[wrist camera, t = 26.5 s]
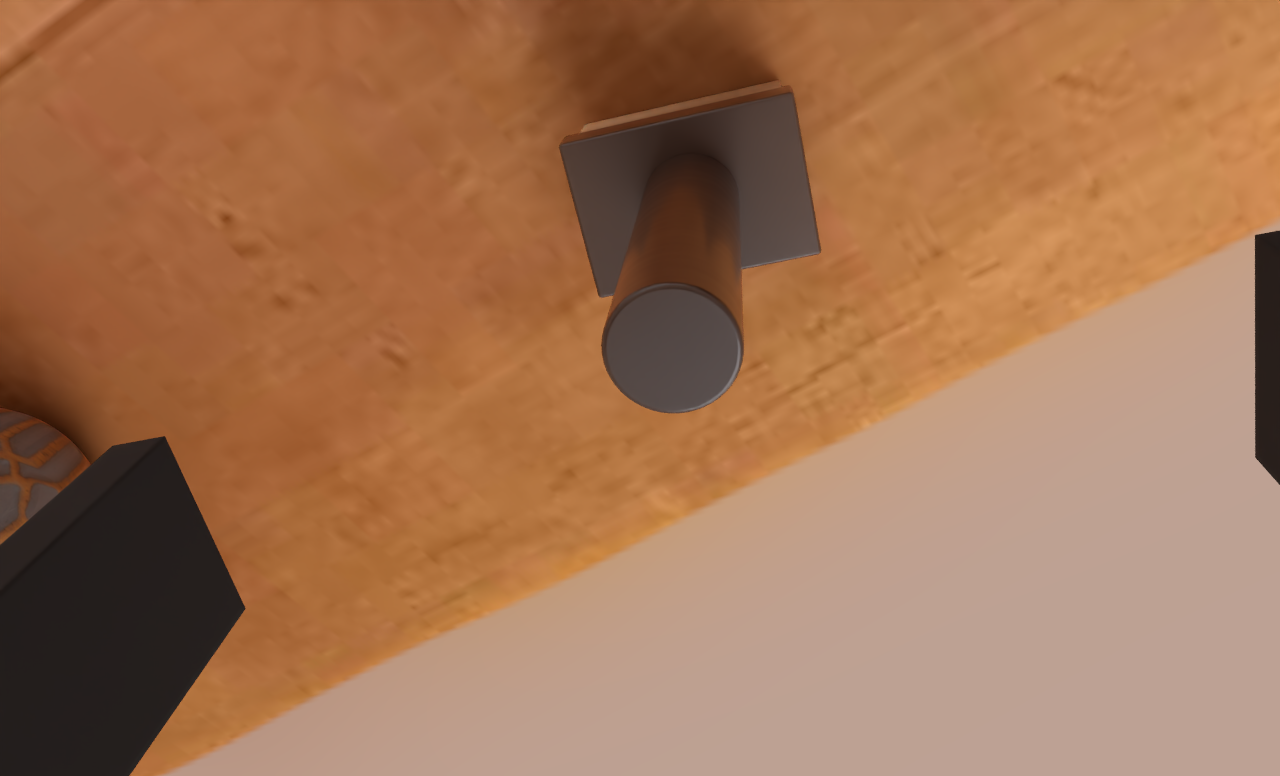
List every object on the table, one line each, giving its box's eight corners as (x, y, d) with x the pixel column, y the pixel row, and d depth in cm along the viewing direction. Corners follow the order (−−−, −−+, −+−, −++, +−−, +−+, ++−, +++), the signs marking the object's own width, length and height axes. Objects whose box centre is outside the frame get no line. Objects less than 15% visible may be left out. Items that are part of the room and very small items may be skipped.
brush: (786, 71, 26) (827, 195, 15) (812, 219, 27) (867, 428, 17) (575, 120, 27) (469, 270, 16) (611, 261, 28) (537, 486, 17)
